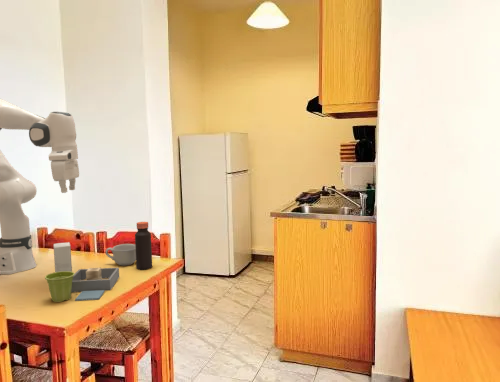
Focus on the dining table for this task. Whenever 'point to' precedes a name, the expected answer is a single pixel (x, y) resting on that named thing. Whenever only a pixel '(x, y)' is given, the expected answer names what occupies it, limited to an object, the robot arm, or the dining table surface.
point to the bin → (95, 284)
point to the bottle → (143, 246)
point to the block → (93, 274)
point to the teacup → (123, 254)
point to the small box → (62, 257)
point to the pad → (90, 295)
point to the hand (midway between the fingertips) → (68, 191)
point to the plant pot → (60, 285)
